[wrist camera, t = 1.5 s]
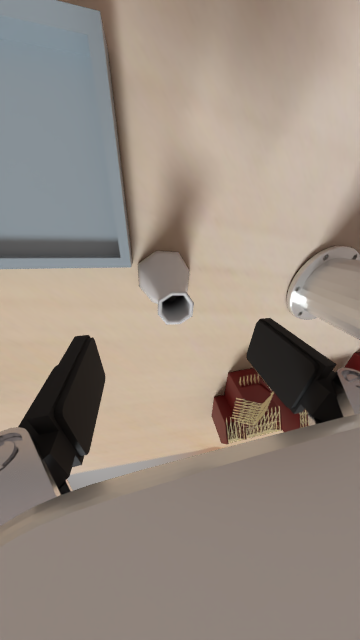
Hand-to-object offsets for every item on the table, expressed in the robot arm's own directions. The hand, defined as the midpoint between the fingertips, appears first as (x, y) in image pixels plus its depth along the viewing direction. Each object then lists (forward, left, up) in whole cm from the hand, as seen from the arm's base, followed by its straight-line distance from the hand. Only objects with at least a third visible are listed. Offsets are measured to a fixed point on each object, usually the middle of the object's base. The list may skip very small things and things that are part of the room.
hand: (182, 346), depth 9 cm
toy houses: (-35, +29, -16) cm, 48 cm away
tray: (+11, -10, -15) cm, 21 cm away
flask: (-1, 0, -15) cm, 15 cm away
